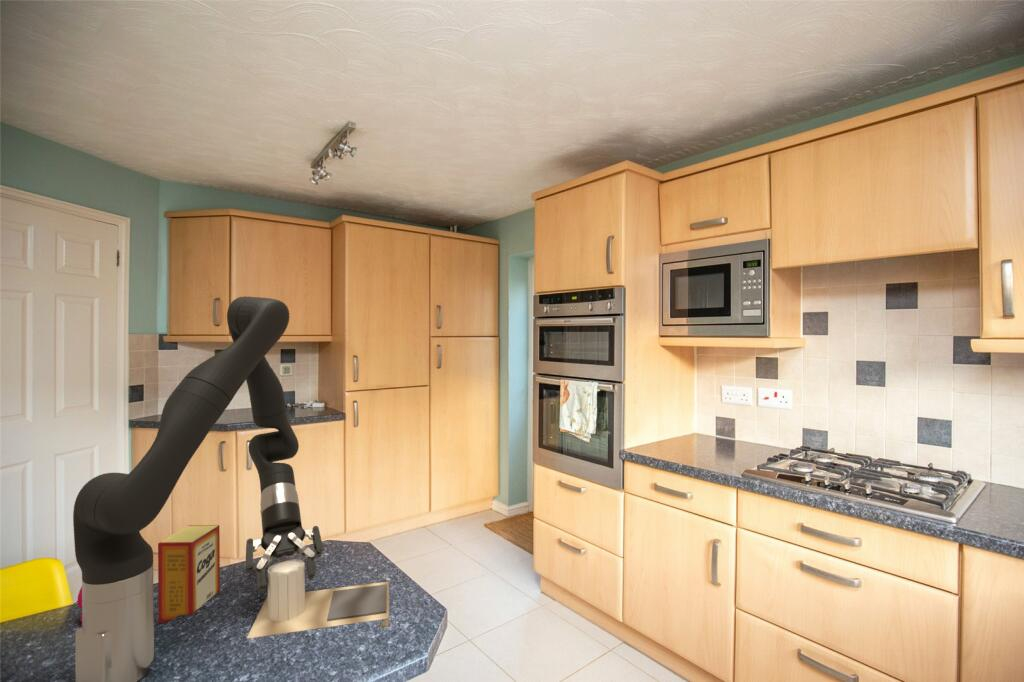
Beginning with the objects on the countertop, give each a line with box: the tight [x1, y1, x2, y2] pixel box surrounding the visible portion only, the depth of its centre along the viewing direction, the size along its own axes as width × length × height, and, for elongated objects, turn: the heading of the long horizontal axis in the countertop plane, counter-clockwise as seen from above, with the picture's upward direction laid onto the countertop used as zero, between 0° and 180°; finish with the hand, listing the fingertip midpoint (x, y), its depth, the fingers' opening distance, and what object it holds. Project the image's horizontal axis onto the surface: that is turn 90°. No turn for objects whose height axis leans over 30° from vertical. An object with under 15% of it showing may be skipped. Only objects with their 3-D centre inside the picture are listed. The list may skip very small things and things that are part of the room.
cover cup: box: [267, 558, 306, 621], centre depth 97 cm, size 6×6×9 cm
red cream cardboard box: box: [157, 524, 221, 623], centre depth 101 cm, size 10×6×16 cm
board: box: [246, 581, 390, 640], centre depth 98 cm, size 25×15×2 cm, turn 104°
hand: (288, 584), depth 96 cm, fingers open, 8 cm apart
